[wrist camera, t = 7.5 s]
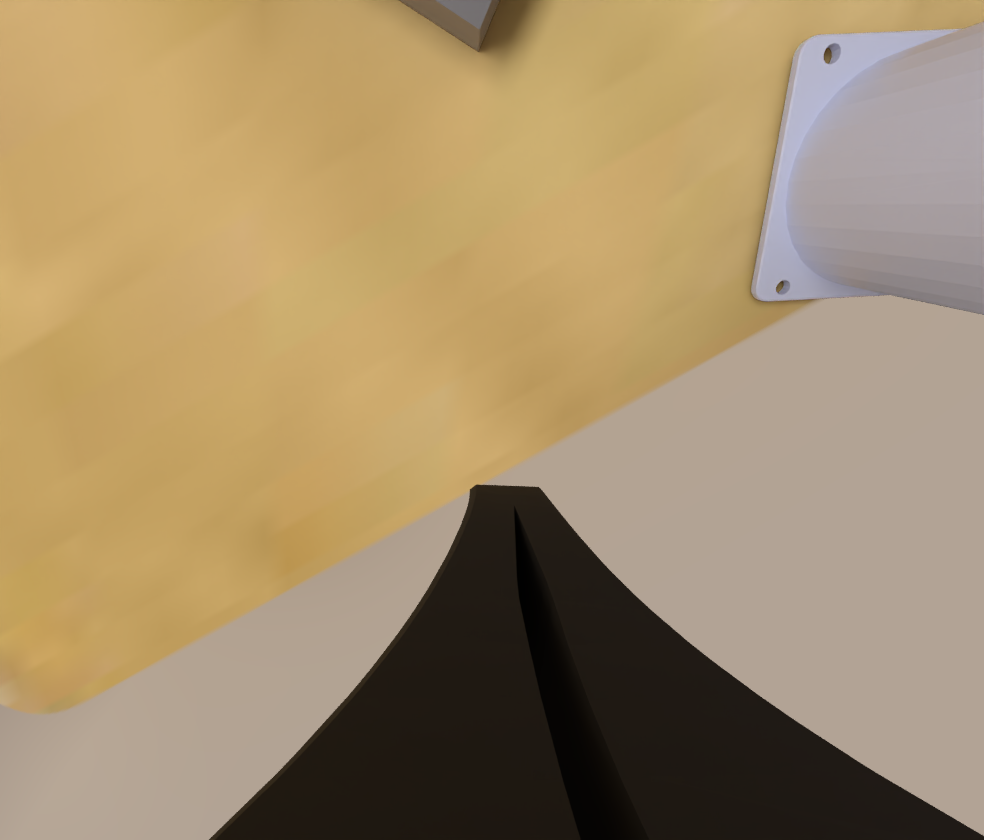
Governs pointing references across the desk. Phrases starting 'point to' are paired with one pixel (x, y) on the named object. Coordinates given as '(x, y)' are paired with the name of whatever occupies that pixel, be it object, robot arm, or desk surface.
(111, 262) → the desk surface
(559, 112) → the desk surface
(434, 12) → the button panel
